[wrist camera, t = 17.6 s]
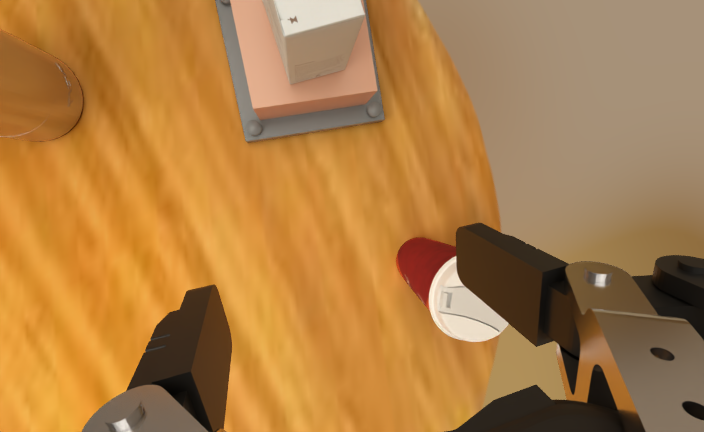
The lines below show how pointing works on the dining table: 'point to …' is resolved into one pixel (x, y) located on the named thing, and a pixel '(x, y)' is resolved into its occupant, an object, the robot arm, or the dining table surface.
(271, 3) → the small box
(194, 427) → the robot arm
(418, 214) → the dining table surface
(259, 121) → the tower base
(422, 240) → the coffee cup
